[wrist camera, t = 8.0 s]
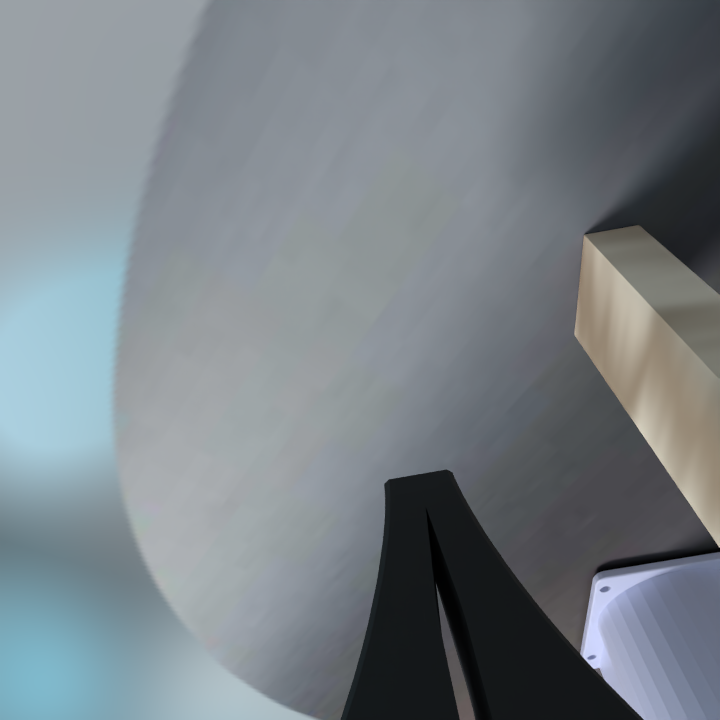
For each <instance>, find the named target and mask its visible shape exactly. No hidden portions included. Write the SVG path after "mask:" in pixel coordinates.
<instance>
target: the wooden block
mask: <svg viewBox="0 0 720 720" xmlns="http://www.w3.org/2000/svg"><path fill="white" fill-rule="evenodd" d="M575 336H576V338H577V339H578V341H579V342H580V343H581V345H582V346H583V348H584V349H585V351H586V352H587V354H588V355H589V357H590V358H591V360H592V361H593V363H594V364H595V366H596V367H597V368H598V370H599V371H600V373H601V374H602V376H603V377H604V379H605V380H606V382H607V383H608V385H609V386H610V388H611V389H612V390H613V392H614V393H615V395H616V396H617V398H618V399H619V401H620V402H621V404H622V405H623V407H624V408H625V410H626V411H627V412H628V414H629V415H630V417H631V418H632V420H633V421H634V423H635V424H636V426H637V427H638V429H639V430H640V432H641V433H642V435H643V436H644V437H645V439H646V440H647V442H648V443H649V445H650V446H651V448H652V449H653V451H654V452H655V454H656V455H657V457H658V458H659V459H660V461H661V462H662V464H663V465H664V467H665V468H666V470H667V471H668V473H669V474H670V476H671V477H672V479H673V480H674V481H675V483H676V484H677V486H678V487H679V489H680V490H681V492H682V493H683V495H684V496H685V498H686V499H687V501H688V502H689V504H690V505H691V506H692V508H693V509H694V511H695V512H696V514H697V515H698V517H699V518H700V520H701V521H702V523H703V524H704V526H705V527H706V528H707V530H708V531H709V533H710V534H711V536H712V537H713V539H714V540H715V542H716V543H717V545H718V546H719V548H720V295H719V294H718V293H717V292H716V291H714V290H713V289H712V288H711V287H710V286H709V285H707V284H706V283H705V282H704V281H703V280H702V279H701V278H699V277H698V276H697V275H696V274H695V273H694V272H692V271H691V270H690V269H689V268H688V267H687V266H686V265H684V264H683V263H682V262H681V261H680V260H679V259H678V258H676V257H675V256H674V255H673V254H672V253H671V252H669V251H668V250H667V249H666V248H665V247H664V246H663V245H661V244H660V243H659V242H658V241H657V240H656V239H654V238H653V237H652V236H651V235H650V234H649V233H648V232H646V231H645V230H644V229H643V228H642V227H641V226H639V225H636V226H630V227H624V228H619V229H613V230H608V231H602V232H596V233H591V234H585V235H584V240H583V251H582V262H581V272H580V283H579V293H578V304H577V314H576V325H575Z"/></svg>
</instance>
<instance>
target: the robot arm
mask: <svg viewBox="0 0 720 720" xmlns="http://www.w3.org/2000/svg"><path fill="white" fill-rule="evenodd" d="M384 486H385V525H384V536H383V545H382V552H381V559H380V566H379V572H378V579H377V584H376V589H375V594H374V599H373V604H372V608H371V613H370V618H369V623H368V627H367V631H366V635H365V639H364V643H363V647H362V651H361V654H360V658H359V661H358V665H357V669H356V672H355V676H354V679H353V682H352V685H351V689H350V692H349V695H348V698H347V701H346V704H345V708H344V711H343V714H342V717H341V720H460V719H459V714H458V710H457V705H456V700H455V696H454V691H453V686H452V682H451V677H450V672H449V668H448V663H447V658H446V654H445V649H444V644H443V639H442V633H441V624H440V615H439V607H438V598H437V589H436V584H437V588H438V591H439V594H440V598H441V601H442V604H443V608H444V611H445V615H446V618H447V621H448V625H449V628H450V631H451V635H452V638H453V641H454V645H455V648H456V651H457V655H458V658H459V661H460V665H461V668H462V671H463V675H464V678H465V681H466V685H467V688H468V692H469V696H470V700H471V704H472V707H473V711H474V716H475V720H720V552H716V553H710V554H704V555H698V556H692V557H685V558H679V559H673V560H667V561H661V562H655V563H649V564H643V565H637V566H631V567H625V568H619V569H613V570H606V571H602V572H599V573H597V574H596V575H595V576H594V578H593V582H592V588H591V593H590V599H589V605H588V611H587V617H586V623H585V629H584V635H583V641H582V646H581V652H580V653H579V652H578V651H577V650H576V649H575V648H574V647H573V646H572V645H571V644H570V642H569V641H568V640H567V639H566V638H565V637H564V636H563V634H562V633H561V632H560V631H559V630H558V629H557V627H556V626H555V625H554V624H553V623H552V622H551V620H550V619H549V618H548V617H547V616H546V614H545V613H544V612H543V611H542V610H541V608H540V607H539V606H538V605H537V603H536V602H535V601H534V600H533V598H532V597H531V596H530V594H529V593H528V592H527V591H526V589H525V588H524V587H523V585H522V584H521V583H520V582H519V580H518V579H517V578H516V576H515V575H514V573H513V572H512V571H511V569H510V568H509V567H508V565H507V564H506V562H505V561H504V560H503V558H502V557H501V555H500V554H499V552H498V551H497V549H496V548H495V546H494V545H493V544H492V542H491V541H490V539H489V538H488V536H487V535H486V533H485V532H484V530H483V528H482V527H481V525H480V524H479V522H478V520H477V519H476V517H475V515H474V514H473V512H472V510H471V509H470V507H469V505H468V503H467V502H466V500H465V498H464V496H463V494H462V492H461V490H460V488H459V486H458V484H457V482H456V480H455V478H454V475H453V473H452V472H450V471H449V470H442V471H436V472H430V473H424V474H418V475H413V476H407V477H401V478H395V479H389V480H388V481H387V482H386V483H385V484H384ZM594 668H600V670H601V672H602V675H603V677H604V679H603V678H602V677H601V676H600V675H599V674H598V673H597V672H596V671H595V670H594Z"/></svg>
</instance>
